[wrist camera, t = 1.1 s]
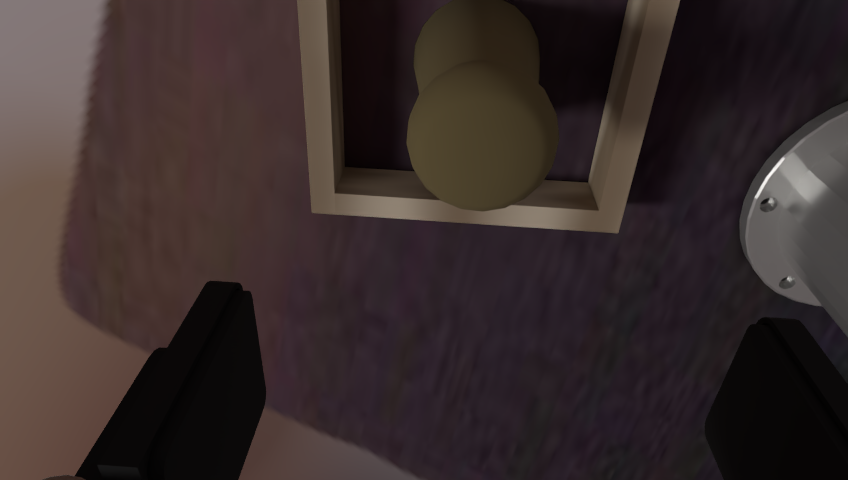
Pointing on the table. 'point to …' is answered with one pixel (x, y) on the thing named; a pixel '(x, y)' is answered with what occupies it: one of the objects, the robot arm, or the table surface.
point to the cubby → (546, 205)
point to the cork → (480, 107)
